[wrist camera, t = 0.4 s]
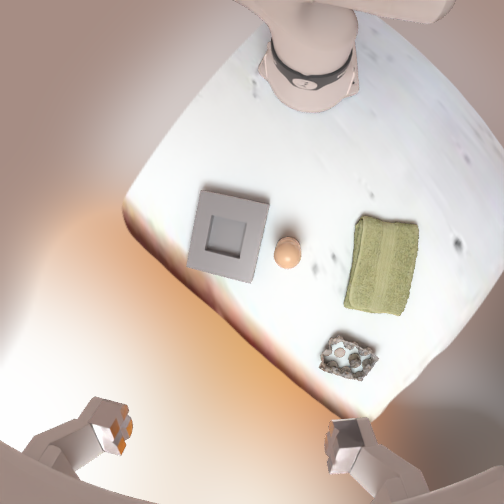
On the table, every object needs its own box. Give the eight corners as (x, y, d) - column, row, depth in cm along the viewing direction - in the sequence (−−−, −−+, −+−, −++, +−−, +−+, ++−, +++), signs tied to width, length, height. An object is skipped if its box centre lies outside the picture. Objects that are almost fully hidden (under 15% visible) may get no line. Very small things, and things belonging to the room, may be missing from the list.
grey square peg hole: (205, 190, 55) (200, 190, 52) (269, 204, 53) (268, 204, 50) (191, 263, 57) (186, 266, 54) (252, 279, 56) (250, 283, 53)
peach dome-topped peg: (279, 234, 54) (276, 240, 46) (303, 240, 54) (304, 247, 46) (273, 257, 55) (270, 267, 47) (297, 263, 55) (297, 274, 47)
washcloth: (340, 307, 55) (343, 313, 52) (355, 214, 52) (359, 215, 49) (402, 312, 54) (407, 318, 51) (419, 224, 51) (426, 225, 47)
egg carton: (315, 358, 58) (316, 368, 54) (335, 328, 56) (337, 338, 52) (357, 377, 57) (360, 388, 53) (377, 350, 56) (382, 359, 52)
